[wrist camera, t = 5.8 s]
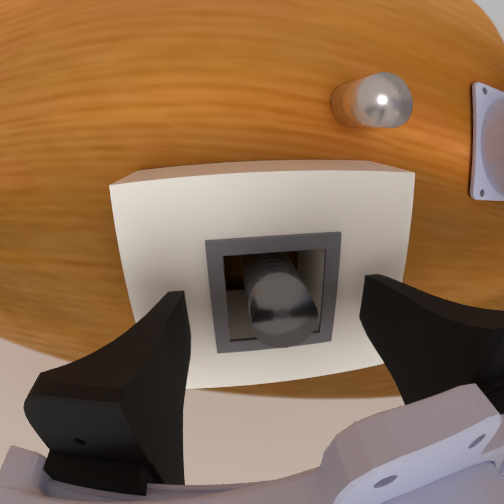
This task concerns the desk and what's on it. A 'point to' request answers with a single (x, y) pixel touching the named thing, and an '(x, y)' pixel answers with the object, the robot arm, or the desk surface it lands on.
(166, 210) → the pin block
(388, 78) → the short pin
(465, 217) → the desk surface
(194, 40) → the desk surface
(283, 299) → the long pin
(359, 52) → the desk surface
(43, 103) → the desk surface
